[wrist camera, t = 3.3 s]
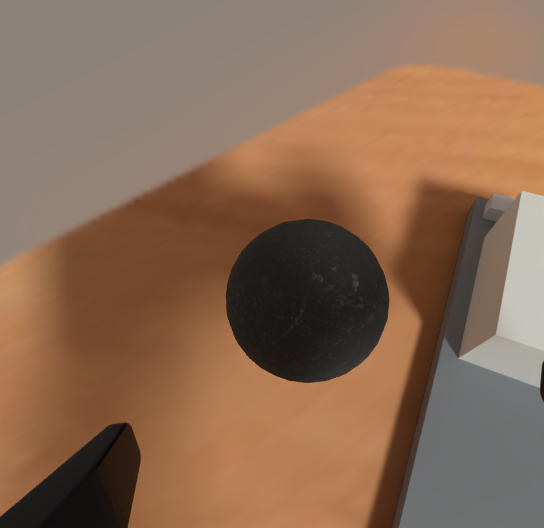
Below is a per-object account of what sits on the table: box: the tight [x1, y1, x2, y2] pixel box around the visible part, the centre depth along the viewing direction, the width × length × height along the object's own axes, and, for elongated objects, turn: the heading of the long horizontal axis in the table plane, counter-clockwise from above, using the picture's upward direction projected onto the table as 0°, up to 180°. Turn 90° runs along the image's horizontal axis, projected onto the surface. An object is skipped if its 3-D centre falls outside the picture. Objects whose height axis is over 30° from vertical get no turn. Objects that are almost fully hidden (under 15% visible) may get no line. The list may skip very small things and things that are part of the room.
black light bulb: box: [226, 219, 389, 383], centre depth 15 cm, size 6×6×10 cm
